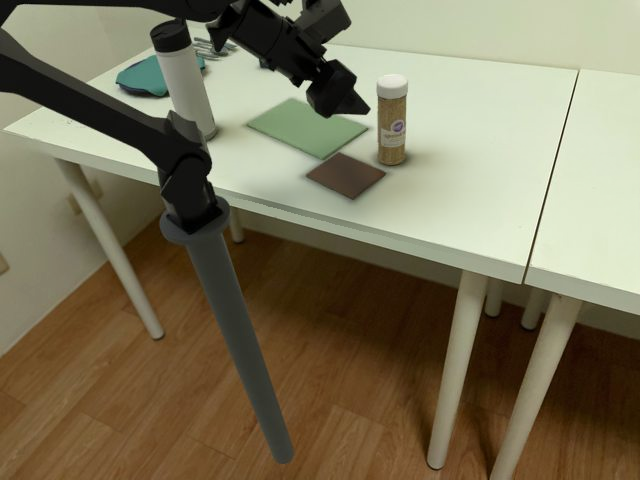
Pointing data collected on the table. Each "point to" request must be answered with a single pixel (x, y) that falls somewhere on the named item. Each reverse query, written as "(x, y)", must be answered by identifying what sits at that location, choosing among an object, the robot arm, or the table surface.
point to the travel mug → (183, 74)
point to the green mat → (307, 128)
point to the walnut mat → (346, 175)
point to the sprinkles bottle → (391, 118)
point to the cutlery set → (157, 71)
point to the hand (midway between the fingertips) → (355, 97)
